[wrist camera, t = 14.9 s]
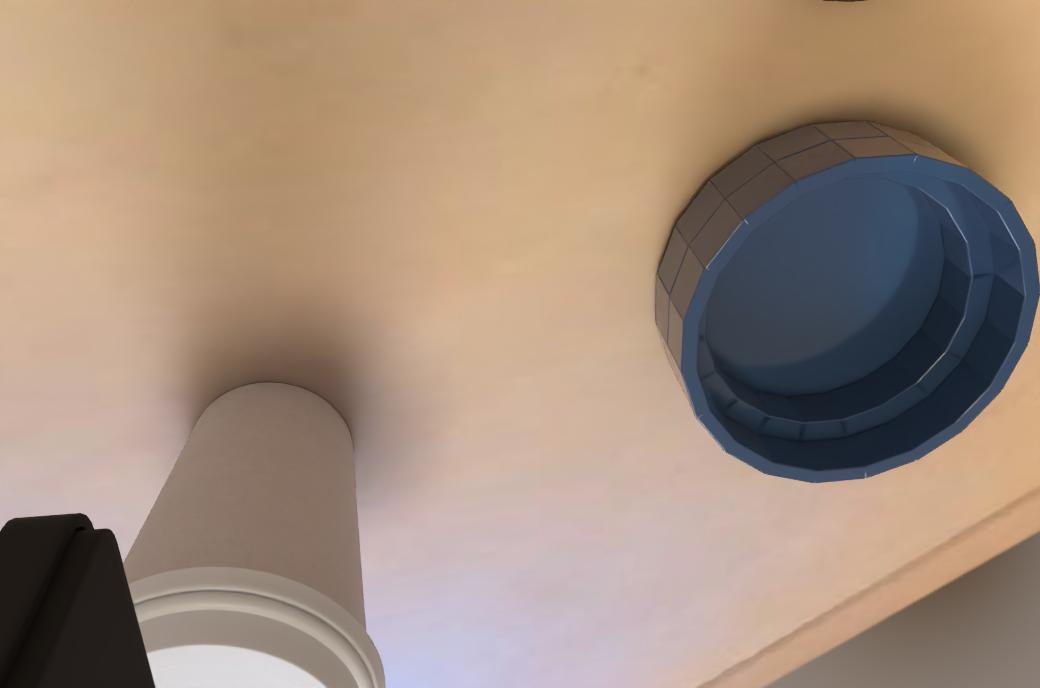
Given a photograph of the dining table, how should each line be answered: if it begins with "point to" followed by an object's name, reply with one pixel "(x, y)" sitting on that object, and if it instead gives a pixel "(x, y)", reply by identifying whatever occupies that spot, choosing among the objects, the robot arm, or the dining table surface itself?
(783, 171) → the bowl
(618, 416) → the dining table surface
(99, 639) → the robot arm
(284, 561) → the coffee cup
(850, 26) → the dining table surface
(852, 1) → the trivet
